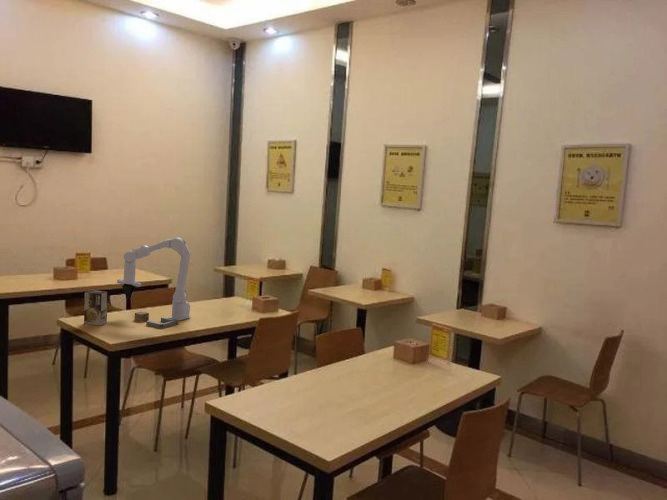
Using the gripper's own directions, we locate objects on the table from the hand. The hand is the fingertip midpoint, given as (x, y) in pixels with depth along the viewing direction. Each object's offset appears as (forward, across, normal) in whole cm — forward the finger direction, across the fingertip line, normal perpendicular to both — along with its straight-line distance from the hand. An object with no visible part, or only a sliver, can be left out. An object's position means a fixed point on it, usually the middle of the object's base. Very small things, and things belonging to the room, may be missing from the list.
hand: (128, 298), depth 291 cm
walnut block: (+10, -11, +2) cm, 15 cm away
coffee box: (+10, +1, +21) cm, 23 cm away
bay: (+10, -25, +3) cm, 27 cm away
